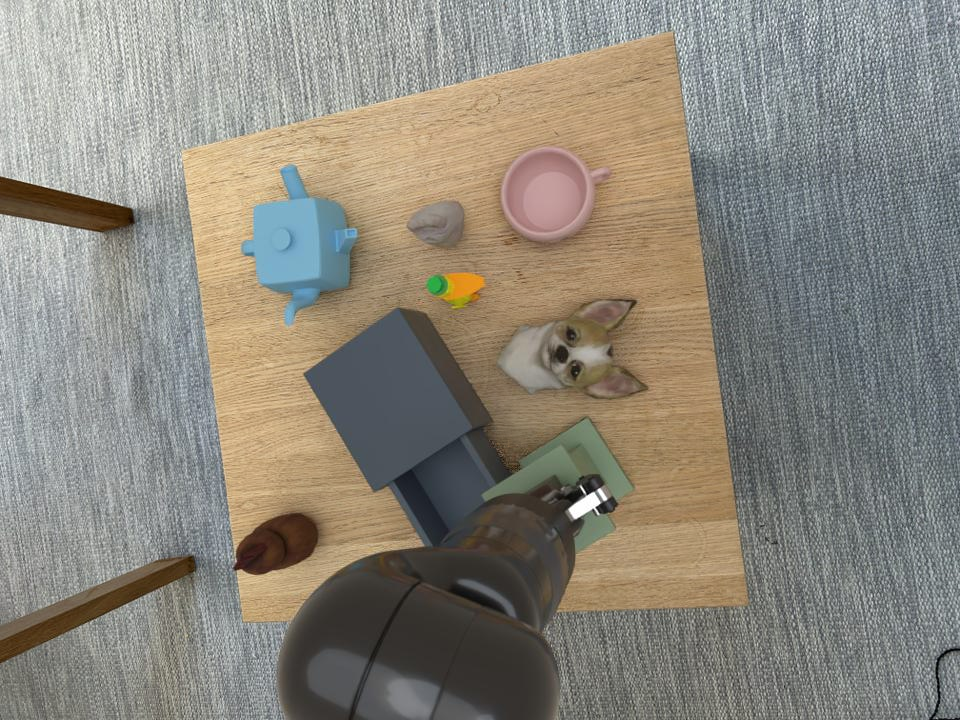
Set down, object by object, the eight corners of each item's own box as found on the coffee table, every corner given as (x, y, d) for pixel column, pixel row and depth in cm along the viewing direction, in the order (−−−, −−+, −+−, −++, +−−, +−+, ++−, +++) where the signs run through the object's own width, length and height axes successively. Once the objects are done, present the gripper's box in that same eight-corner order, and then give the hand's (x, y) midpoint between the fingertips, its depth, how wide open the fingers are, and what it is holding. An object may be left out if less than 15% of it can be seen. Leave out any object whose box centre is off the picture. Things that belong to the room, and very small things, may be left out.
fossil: (466, 205, 87) (441, 185, 77) (483, 230, 86) (460, 213, 76) (425, 235, 88) (395, 219, 78) (441, 260, 87) (413, 247, 78)
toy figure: (499, 273, 86) (473, 259, 74) (503, 305, 86) (478, 296, 74) (441, 282, 87) (407, 270, 76) (445, 313, 87) (412, 306, 76)
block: (585, 522, 62) (579, 534, 57) (539, 549, 62) (529, 564, 58) (555, 474, 62) (546, 482, 58) (509, 502, 63) (498, 513, 59)
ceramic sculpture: (486, 310, 77) (638, 289, 74) (499, 314, 85) (635, 296, 83) (500, 415, 77) (652, 398, 74) (511, 409, 85) (648, 394, 83)
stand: (634, 487, 82) (625, 532, 61) (564, 529, 84) (531, 587, 63) (588, 416, 83) (563, 435, 62) (520, 459, 85) (472, 492, 64)
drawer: (563, 545, 83) (554, 564, 76) (478, 596, 85) (460, 619, 78) (476, 406, 85) (458, 411, 78) (395, 460, 88) (370, 469, 80)
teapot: (267, 184, 92) (220, 163, 82) (377, 169, 89) (342, 145, 79) (277, 333, 92) (231, 330, 82) (388, 324, 89) (353, 319, 79)
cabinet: (493, 420, 86) (473, 428, 77) (404, 478, 88) (373, 492, 79) (425, 312, 88) (397, 306, 78) (339, 372, 90) (302, 373, 81)
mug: (525, 261, 85) (515, 254, 79) (496, 178, 86) (484, 165, 80) (629, 220, 82) (627, 210, 77) (598, 135, 83) (593, 119, 77)
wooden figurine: (318, 502, 91) (252, 529, 76) (332, 549, 90) (268, 585, 76) (268, 517, 92) (195, 546, 78) (282, 564, 92) (210, 602, 77)
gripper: (440, 680, 46) (499, 596, 63) (642, 563, 44) (648, 507, 60) (376, 572, 47) (451, 517, 64) (570, 451, 45) (595, 426, 61)
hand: (546, 512), depth 62 cm, fingers closed on block, 4 cm apart
